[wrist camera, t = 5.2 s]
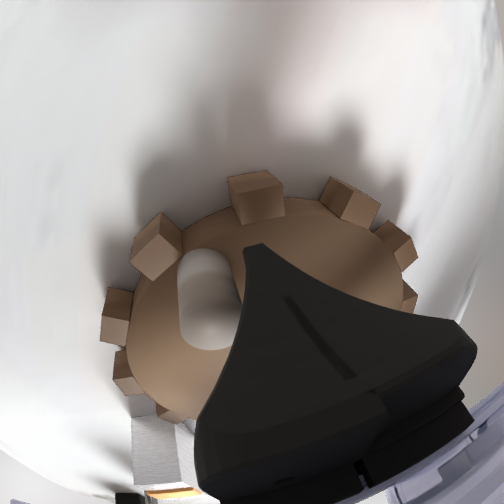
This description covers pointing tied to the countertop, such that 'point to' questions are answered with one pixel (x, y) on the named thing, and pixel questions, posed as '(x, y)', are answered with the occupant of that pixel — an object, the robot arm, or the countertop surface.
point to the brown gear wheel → (239, 282)
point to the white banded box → (164, 459)
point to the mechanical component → (150, 502)
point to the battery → (129, 499)
